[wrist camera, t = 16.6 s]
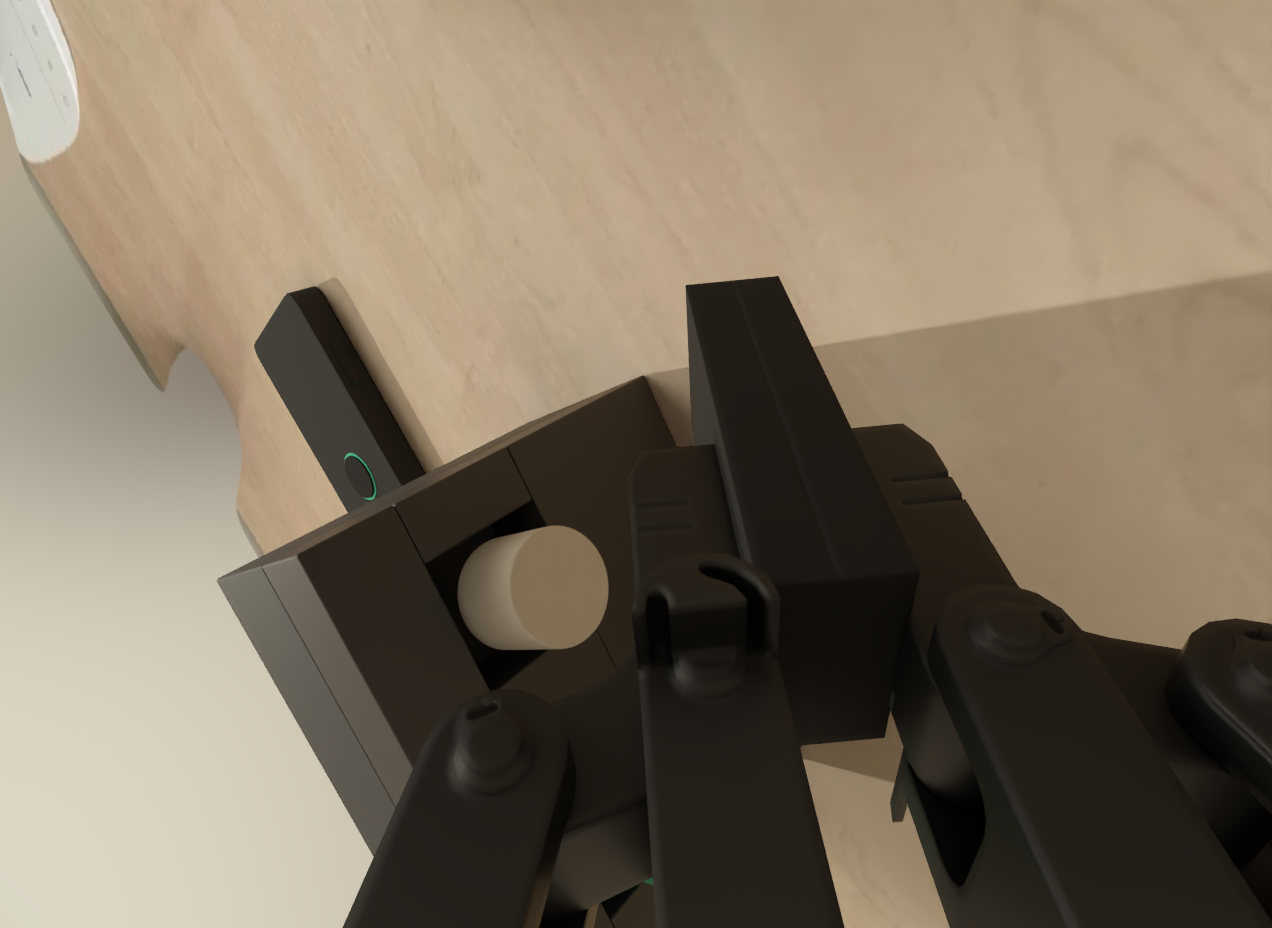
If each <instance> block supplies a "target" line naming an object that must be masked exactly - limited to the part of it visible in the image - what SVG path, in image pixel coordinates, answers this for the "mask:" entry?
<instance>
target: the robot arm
mask: <svg viewBox="0 0 1272 928" xmlns="http://www.w3.org/2000/svg"><path fill="white" fill-rule="evenodd" d="M686 303H687V326H688V350H689V373H690V396H691V419H692V428H693V433H694V438H695V444H696V446H688V447H677V448H667V449H656V450H646V451H641V452H640V454H639V456H638V458H637V460H636V462H635V463H634V465H633V467H632V469H631V471H630V473H629V475H628V476H627V477H628V491H629V506H630V521H631V536H632V551H633V566H634V581H635V594H634V599H633V605H632V610H631V616H632V624H633V632H634V642H633V645H632V647H631V650H630V652H629V653H628V655H627V656H626V657H625V659H624V660H623V662H622V663H621V664H620V666H619V667H618V668H616V669H615V670H614V671H613V672H612V673H611V674H609V675H608V676H607V677H606V678H605V679H603V680H601V681H599V682H598V683H596V684H594V685H592V686H590V687H588V688H586V689H584V690H582V691H579V692H577V693H574V694H572V695H569V696H567V697H564V698H562V699H559V700H557V701H554V702H552V703H548V702H547V701H545V700H544V699H543V698H542V697H541V696H537V695H534V694H531V693H528V692H525V691H521V690H518V689H510V690H493V691H488V692H485V693H483V694H480V695H478V696H475V697H472V698H470V699H467V700H465V701H463V702H462V703H460V704H459V705H458V706H456V707H455V708H454V709H453V710H451V711H450V712H449V713H448V714H446V715H445V716H444V717H443V718H441V719H440V721H439V722H438V724H437V725H436V727H435V728H434V730H433V731H432V733H431V734H430V736H429V737H428V739H427V740H426V742H425V743H424V745H423V747H422V750H421V752H420V754H419V756H418V759H417V761H416V763H415V765H414V768H413V770H412V772H411V774H410V777H409V779H408V781H407V783H406V786H405V788H404V790H403V793H402V795H401V797H400V799H399V802H398V804H397V806H396V808H395V811H394V813H393V815H392V817H391V820H390V822H389V824H388V826H387V829H386V831H385V833H384V835H383V838H382V840H381V842H380V844H379V847H378V849H377V851H376V854H375V856H374V858H373V860H372V863H371V865H370V867H369V869H368V872H367V874H366V876H365V878H364V881H363V883H362V885H361V888H360V890H359V892H358V894H357V897H356V899H355V901H354V904H353V906H352V908H351V910H350V912H349V915H348V917H347V919H346V921H345V924H344V926H343V928H594V923H595V919H596V914H597V909H598V904H599V903H601V902H603V901H605V900H607V899H609V898H611V897H613V896H615V895H617V894H619V893H621V892H623V891H625V890H628V889H630V888H632V887H634V886H636V885H638V884H640V883H642V882H644V881H646V880H648V879H650V878H653V892H654V907H655V922H656V928H844V924H843V920H842V916H841V912H840V908H839V904H838V900H837V896H836V892H835V888H834V884H833V880H832V876H831V872H830V868H829V863H828V859H827V855H826V851H825V847H824V843H823V839H822V835H821V831H820V827H819V823H818V819H817V815H816V811H815V807H814V803H813V799H812V795H811V791H810V787H809V783H808V779H807V775H806V771H805V767H804V763H803V758H802V754H801V750H800V746H799V745H810V744H821V743H832V742H843V741H854V740H864V739H875V738H884V737H885V732H886V728H887V723H888V718H889V714H890V710H891V713H892V716H893V719H894V721H895V724H896V727H897V730H898V732H899V735H900V738H901V741H902V743H903V746H904V749H903V753H902V757H901V761H900V765H899V769H898V773H897V777H896V781H895V785H894V789H893V793H892V797H891V801H890V804H891V812H892V821H893V822H902V821H903V818H904V814H905V811H906V807H907V804H908V807H909V810H910V812H911V815H912V818H913V821H914V824H915V827H916V830H917V833H918V836H919V839H920V842H921V845H922V847H923V850H924V853H925V856H926V859H927V862H928V865H929V868H930V871H931V874H932V877H933V880H934V882H935V885H936V888H937V891H938V894H939V897H940V900H941V903H942V906H943V909H944V912H945V914H946V917H947V920H948V923H949V926H950V928H1272V625H1271V624H1268V623H1261V622H1255V621H1248V620H1242V619H1229V620H1221V621H1214V622H1208V623H1207V624H1205V625H1204V626H1202V627H1201V628H1199V629H1198V630H1196V631H1195V632H1193V633H1191V635H1190V637H1189V638H1188V640H1187V642H1186V644H1185V645H1184V647H1183V649H1182V650H1181V649H1175V648H1168V647H1162V646H1156V645H1150V644H1144V643H1138V642H1132V641H1126V640H1120V639H1114V638H1108V637H1104V636H1100V635H1096V634H1092V633H1088V632H1085V631H1082V630H1081V629H1080V628H1079V627H1078V625H1077V624H1076V623H1075V622H1074V621H1073V620H1072V619H1071V618H1070V617H1069V616H1068V615H1067V614H1066V613H1065V611H1064V610H1063V609H1062V608H1060V607H1058V606H1057V605H1055V604H1053V603H1052V602H1050V601H1049V600H1047V599H1045V598H1044V597H1042V596H1040V595H1039V594H1037V593H1034V592H1031V591H1028V590H1024V589H1021V588H1020V587H1019V586H1018V585H1017V584H1016V582H1015V581H1014V579H1013V577H1012V576H1011V574H1010V572H1009V571H1008V569H1007V567H1006V566H1005V564H1004V562H1003V561H1002V559H1001V558H1000V556H999V554H998V553H997V551H996V549H995V548H994V546H993V544H992V543H991V541H990V539H989V538H988V536H987V535H986V533H985V531H984V530H983V528H982V526H981V525H980V523H979V521H978V520H977V518H976V516H975V515H974V513H973V512H972V510H971V508H970V507H969V505H968V503H967V502H966V500H965V499H964V500H962V493H961V492H960V490H959V488H958V487H957V485H956V484H955V482H954V480H953V479H952V477H949V476H948V470H947V469H946V467H945V465H944V464H943V462H942V461H941V459H940V457H939V456H938V454H937V452H936V451H935V449H934V447H933V446H932V445H931V444H930V443H929V442H927V441H926V440H925V439H923V438H922V437H920V436H919V435H918V434H916V433H915V432H914V431H912V430H911V429H909V428H908V427H907V426H905V425H904V424H892V425H882V426H871V427H861V428H851V427H850V425H849V422H848V420H847V418H846V416H845V414H844V412H843V410H842V408H841V406H840V404H839V402H838V400H837V397H836V395H835V393H834V391H833V389H832V387H831V385H830V383H829V381H828V379H827V377H826V375H825V372H824V370H823V368H822V366H821V364H820V362H819V360H818V358H817V356H816V354H815V352H814V350H813V347H812V345H811V343H810V341H809V339H808V337H807V335H806V333H805V331H804V329H803V327H802V324H801V322H800V320H799V318H798V316H797V314H796V312H795V310H794V308H793V306H792V304H791V302H790V299H789V297H788V295H787V293H786V291H785V289H784V287H783V285H782V283H781V281H780V279H779V277H778V276H776V277H766V278H755V279H745V280H735V281H724V282H714V283H704V284H694V285H686Z"/></svg>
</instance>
